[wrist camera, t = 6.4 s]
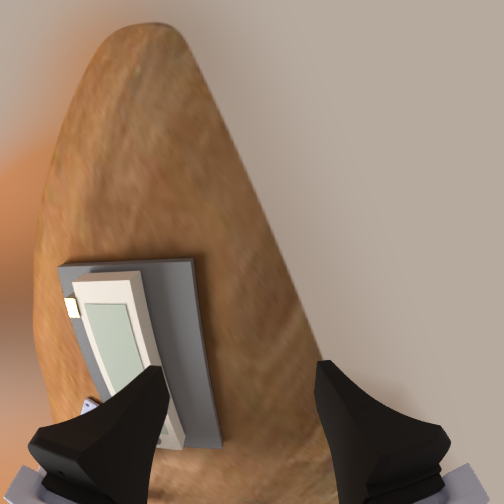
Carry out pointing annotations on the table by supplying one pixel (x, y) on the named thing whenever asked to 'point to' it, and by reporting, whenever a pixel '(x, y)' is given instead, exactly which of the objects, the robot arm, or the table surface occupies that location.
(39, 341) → the table surface
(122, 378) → the frame
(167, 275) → the board
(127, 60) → the table surface
